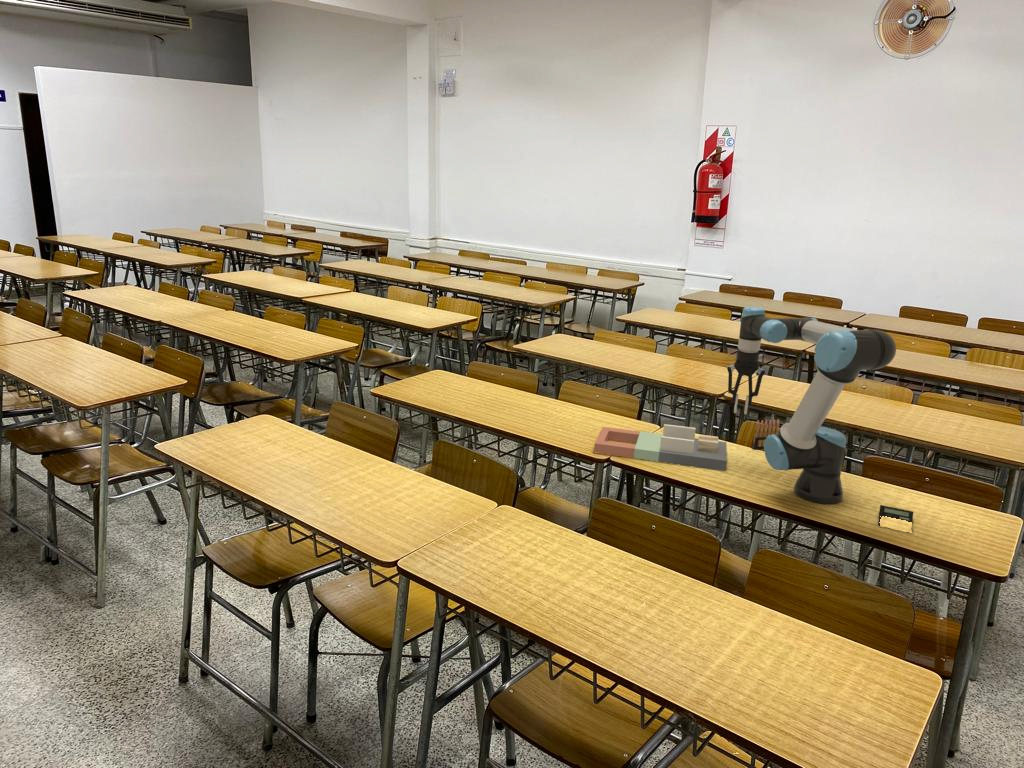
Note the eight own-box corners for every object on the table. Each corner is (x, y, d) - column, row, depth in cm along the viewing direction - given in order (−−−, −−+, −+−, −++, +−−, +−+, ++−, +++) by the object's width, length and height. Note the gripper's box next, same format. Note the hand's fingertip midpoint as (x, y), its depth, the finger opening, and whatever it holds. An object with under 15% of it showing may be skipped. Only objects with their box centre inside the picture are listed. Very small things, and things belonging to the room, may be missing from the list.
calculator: (877, 527, 221) (879, 518, 220) (878, 512, 230) (880, 504, 230) (912, 535, 216) (913, 526, 216) (911, 519, 226) (913, 511, 226)
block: (716, 453, 264) (718, 443, 263) (697, 450, 266) (698, 440, 265) (716, 446, 271) (718, 436, 270) (697, 444, 272) (699, 434, 271)
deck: (725, 471, 258) (728, 447, 256) (593, 453, 270) (595, 430, 268) (725, 451, 277) (727, 429, 274) (602, 436, 289) (603, 414, 286)
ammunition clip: (775, 446, 285) (779, 418, 281) (777, 448, 283) (782, 419, 279) (750, 448, 282) (754, 419, 279) (753, 449, 280) (757, 420, 277)
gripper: (771, 350, 256) (762, 412, 263) (725, 345, 260) (717, 407, 267) (772, 354, 249) (763, 418, 256) (725, 350, 253) (717, 413, 260)
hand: (740, 412), depth 261 cm, fingers open, 3 cm apart
